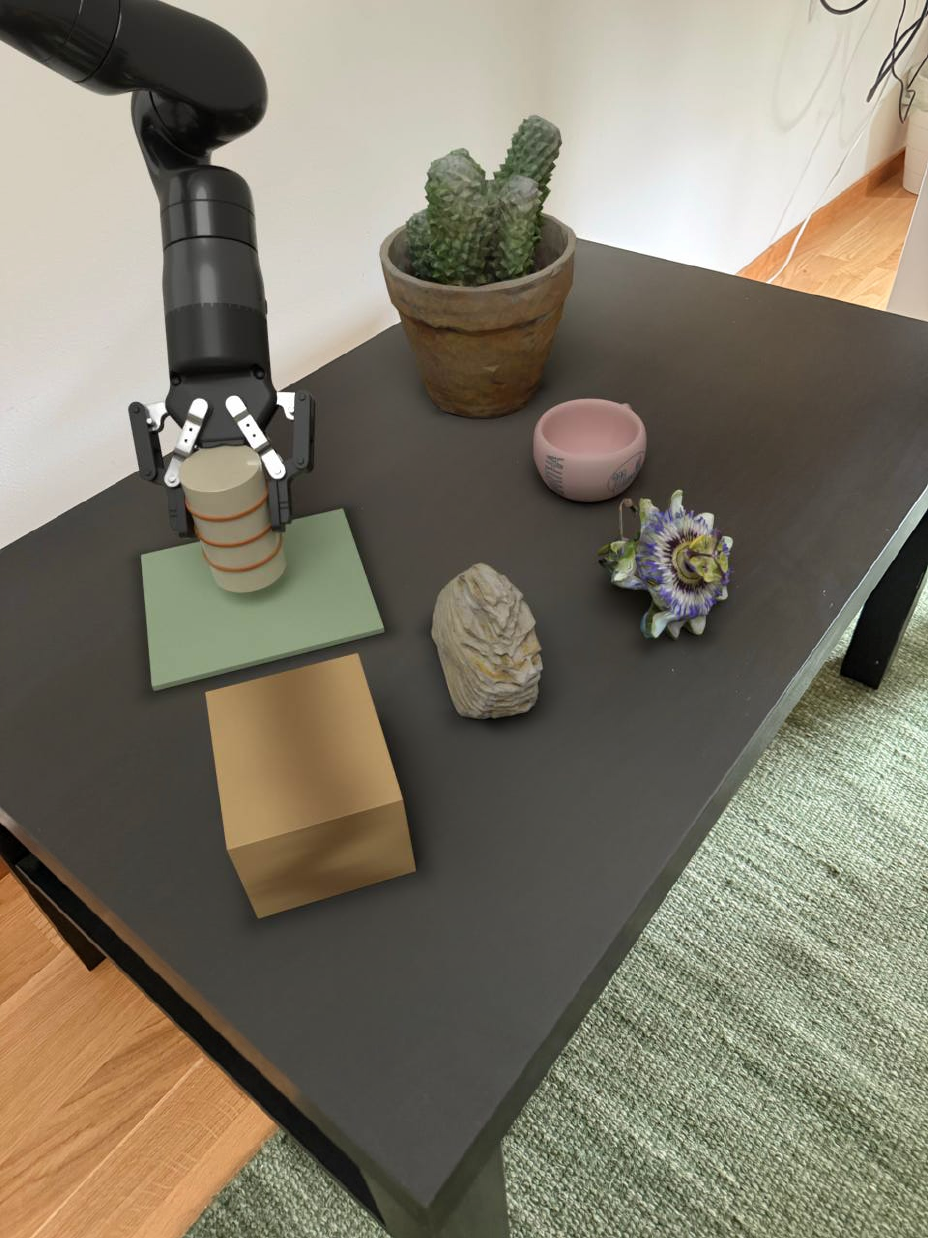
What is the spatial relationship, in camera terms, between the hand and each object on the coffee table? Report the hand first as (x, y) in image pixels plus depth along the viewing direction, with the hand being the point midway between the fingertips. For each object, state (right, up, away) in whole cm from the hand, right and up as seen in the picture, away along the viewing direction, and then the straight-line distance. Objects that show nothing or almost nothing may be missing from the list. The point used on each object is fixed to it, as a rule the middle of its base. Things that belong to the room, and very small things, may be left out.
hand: (233, 534), depth 70 cm
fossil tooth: (+19, -11, -1) cm, 22 cm away
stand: (+8, -19, -9) cm, 23 cm away
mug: (+30, +7, +15) cm, 34 cm away
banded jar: (0, -2, +5) cm, 5 cm away
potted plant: (+20, +17, +27) cm, 38 cm away
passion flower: (+33, -5, +3) cm, 33 cm away
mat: (0, -4, +7) cm, 8 cm away
